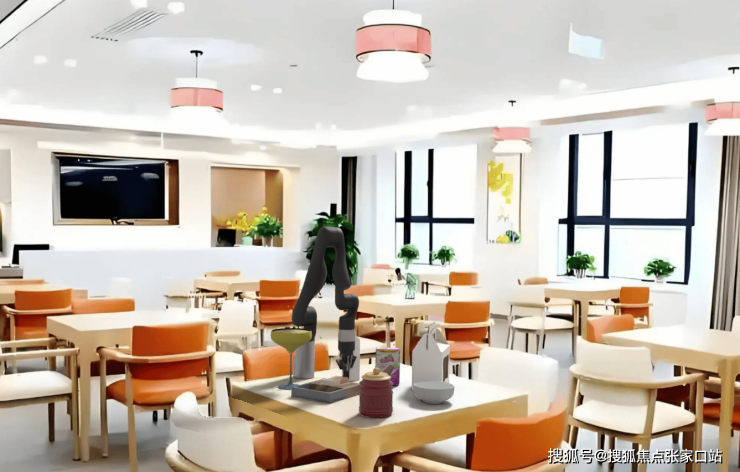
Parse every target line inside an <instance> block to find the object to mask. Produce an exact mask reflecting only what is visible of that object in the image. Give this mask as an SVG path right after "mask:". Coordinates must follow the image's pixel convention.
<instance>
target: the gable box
mask: <svg viewBox="0 0 740 472" xmlns="http://www.w3.org/2000/svg"><path fill="white" fill-rule="evenodd" d="M438 327H439V324H438V325H436V322H432V323H430V325H428V326H427V332H426V333H423V335H422V336H421V338H420V339H419V341H418V342H417V344H416V346H415V347H414V348H413V350H412V352H411V391H413V392H414V390H413V384H414V383H417V382H423V381H438V382H446V383H450V354H451V353H450V352H451V351H450V350H451V349H450V347H451V345H450V344H449V342H448V341H447V339H446V337H445V336H444V335H443V334H442V332H441V330H440V329H439V328H438Z"/></svg>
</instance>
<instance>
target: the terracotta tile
mask: <svg viewBox="0 0 740 472" xmlns="http://www.w3.org/2000/svg"><path fill="white" fill-rule="evenodd" d="M329 378H334V379H341V384H343V383H347V382H349V381H348V377H342V375H334V376H331V377H329Z"/></svg>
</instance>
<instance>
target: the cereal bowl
mask: <svg viewBox="0 0 740 472" xmlns="http://www.w3.org/2000/svg"><path fill="white" fill-rule="evenodd" d="M413 390H414V391H413V393H414V395H415V397H417V398H418V399H420V400H422V401H423V402H424V403H425V404H431V405H438V404H443V403H444V402H447V401H448V400H450V399H451V398H452V397H453V396H454V393H455V385H454V384H453V383H450V382H449V383H446V382H438V381H423V382H417V383H414V384H413Z"/></svg>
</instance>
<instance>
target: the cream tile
mask: <svg viewBox="0 0 740 472" xmlns="http://www.w3.org/2000/svg"><path fill="white" fill-rule="evenodd" d="M326 378H327V379H323V378H322V379H323V380H322V384H323V385H329V386H336V385H340V384H341V379H334V378H330V377H326Z"/></svg>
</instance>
